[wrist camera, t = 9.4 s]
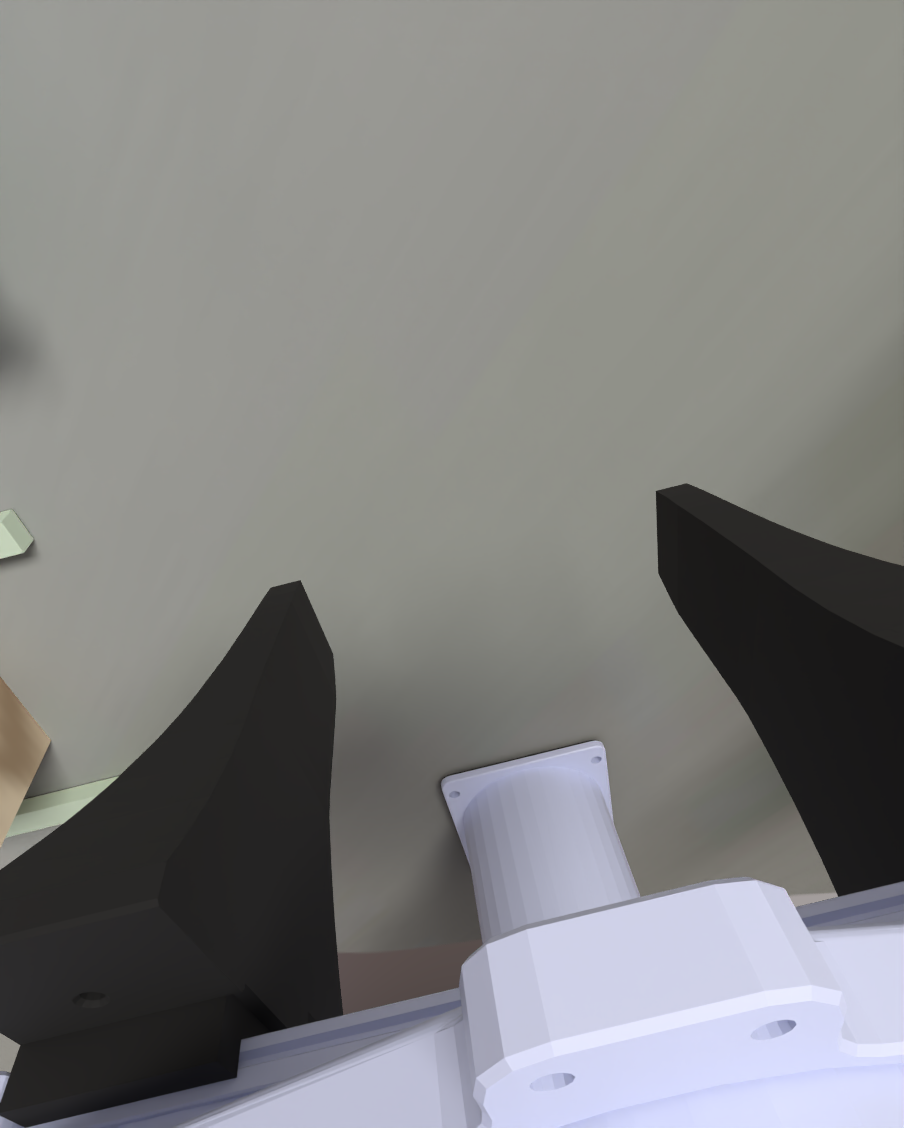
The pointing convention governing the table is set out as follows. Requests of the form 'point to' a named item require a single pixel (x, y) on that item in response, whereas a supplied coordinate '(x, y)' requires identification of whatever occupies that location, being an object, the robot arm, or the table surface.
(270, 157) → the table surface
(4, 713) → the block
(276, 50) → the table surface
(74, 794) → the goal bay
